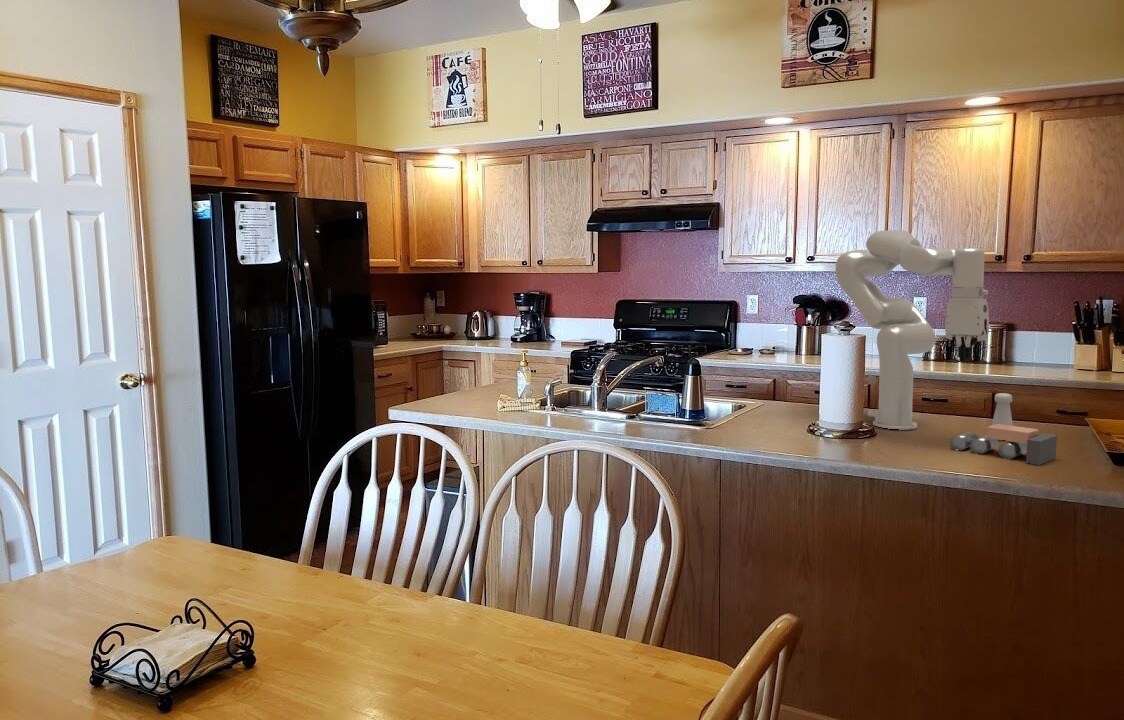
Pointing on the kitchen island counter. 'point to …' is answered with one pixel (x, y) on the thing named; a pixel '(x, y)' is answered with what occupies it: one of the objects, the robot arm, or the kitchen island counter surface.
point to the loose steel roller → (1012, 449)
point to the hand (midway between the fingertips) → (964, 360)
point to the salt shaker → (1003, 410)
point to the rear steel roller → (962, 440)
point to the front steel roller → (983, 445)
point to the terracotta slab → (1011, 433)
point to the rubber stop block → (1041, 449)
